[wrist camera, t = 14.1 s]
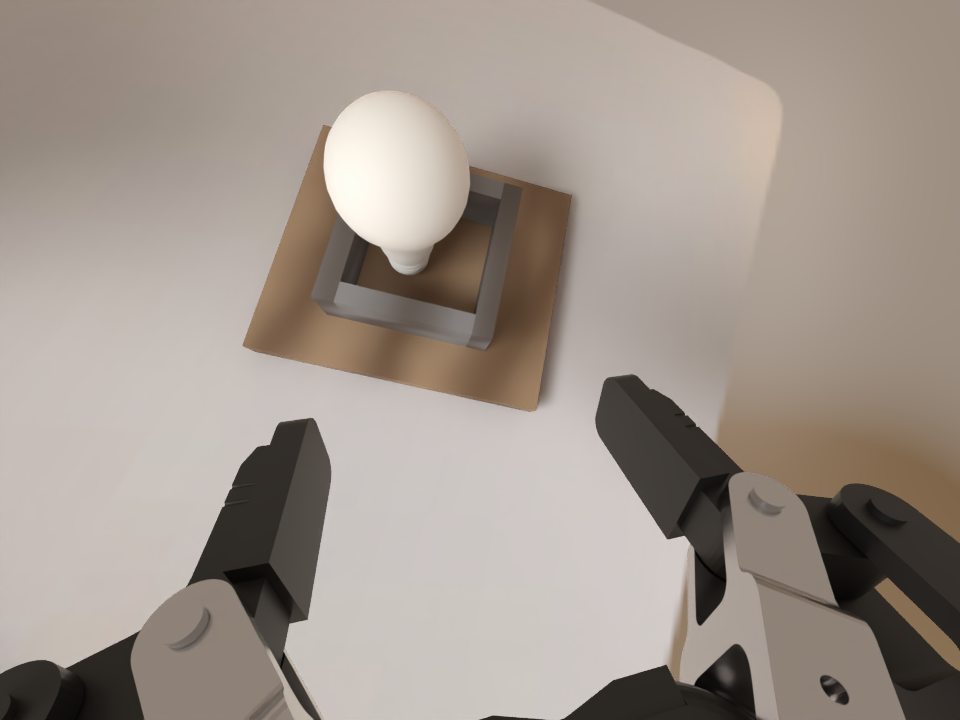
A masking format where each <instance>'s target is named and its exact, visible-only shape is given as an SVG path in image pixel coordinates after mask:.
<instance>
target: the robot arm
mask: <svg viewBox="0 0 960 720" xmlns="http://www.w3.org/2000/svg"><path fill="white" fill-rule="evenodd" d="M595 421H596V428H597V432H598V434H599V436H600V438H601V440H602V441H603V443H604V444H605V446H606V447H607V449H608V450H609V452H610V453H611V455H612V456H613V458H614V459H615V461H616V462H617V464H618V465H619V467H620V468H621V470H622V471H623V473H624V474H625V476H626V477H627V479H628V481H629V482H630V484H631V485H632V487H633V488H634V490H635V491H636V493H637V494H638V496H639V497H640V499H641V500H642V502H643V503H644V505H645V506H646V508H647V509H648V511H649V512H650V514H651V515H652V517H653V518H654V520H655V521H656V523H657V525H658V526H659V528H660V529H661V531H662V532H663V534H664V535H665V537H666V538H667V539H672V538H676V537H681V536H686V538H687V539H688V541H689V542H690V545H689V548H688V553H687V558H688V632H687V638H686V642H685V645H684V648H683V652H682V657H681V664H680V682H679V681H674V679H673V677H672V675H671V673H670V671H669V669H668V667H667V665H664V666H661V667H657V668H654V669H651V670H647V671H644V672H640V673H637V674H634V675H630V676H627V677H623V678H620V679H616V680H613V681H612V682H611V683H609V684H608V685H607V686H605V687H604V688H603V689H602V690H600V691H599V692H598V693H597V694H595V695H594V696H593V697H591V698H590V699H589V700H588V701H586V702H585V703H584V704H583V705H581V706H580V707H579V708H577V709H576V710H575V711H574V712H572V713H571V714H570V715H569V716H567V717H566V718H564V719H561V720H960V671H958V670H957V669H955V668H954V667H952V666H951V665H950V664H948V663H947V662H946V661H945V660H944V659H943V658H942V657H941V656H940V655H939V654H938V653H937V652H936V651H935V650H934V649H933V648H932V647H931V646H930V645H929V644H928V643H927V642H926V641H925V640H924V639H923V637H922V636H921V635H920V634H919V633H918V632H917V631H916V630H915V629H914V628H913V627H912V626H911V625H910V624H909V623H908V622H907V621H906V620H905V619H904V618H903V617H902V616H901V615H900V614H899V613H898V612H897V611H896V610H895V609H894V608H893V607H892V606H891V605H890V604H889V603H888V602H887V601H886V600H885V599H884V598H883V597H882V595H881V594H880V593H879V592H878V591H877V590H876V589H875V588H874V587H875V586H877V585H878V584H879V583H881V582H882V581H883V580H884V579H886V578H887V577H888V578H889V579H890V580H891V581H892V582H893V583H894V584H895V585H896V586H897V587H898V588H899V589H900V590H901V591H902V592H904V594H905V595H906V596H907V597H909V599H910V600H912V601H913V602H914V603H915V604H916V605H917V606H918V607H919V608H920V609H921V610H922V611H923V612H924V613H925V614H926V615H927V616H928V617H929V618H930V619H931V620H932V621H933V622H934V623H935V624H936V625H937V626H938V627H939V628H940V629H941V630H942V631H944V633H945V634H946V635H948V636H949V638H951V640H952V641H953V642H954V643H955V644H956V645H957V647H958V648H959V650H960V543H958V542H957V541H956V540H955V539H953V538H952V537H951V536H949V535H948V534H947V533H945V532H944V531H943V530H942V529H940V528H939V527H938V526H937V525H935V524H934V523H933V522H931V521H930V520H929V519H928V518H926V517H925V516H924V515H923V514H921V513H920V512H919V511H917V510H916V509H915V508H914V507H912V506H911V505H909V504H908V503H906V502H905V501H903V500H902V499H900V498H898V497H896V496H895V495H893V494H891V493H889V492H886V491H884V490H881V489H879V488H876V487H873V486H869V485H864V484H848V485H846V486H844V487H843V488H842V489H841V490H840V491H839V492H838V493H837V494H836V495H835V497H834V498H824V497H815V496H806V495H797V494H794V493H793V492H792V491H791V490H790V489H789V488H787V487H786V486H784V485H783V484H781V483H780V482H778V481H776V480H774V479H772V478H770V477H767V476H764V475H761V474H757V473H752V472H744V471H743V470H742V469H741V468H740V467H739V466H738V465H737V464H736V463H735V462H734V461H733V460H732V459H731V458H730V457H728V455H726V453H725V452H724V451H722V449H721V448H719V446H718V445H717V444H715V443H714V442H713V441H712V440H711V439H710V438H709V437H708V436H707V435H706V434H705V433H704V432H703V431H702V430H701V429H700V428H699V427H696V424H695V423H694V422H693V421H692V420H691V419H690V418H689V417H688V416H685V413H684V412H683V411H682V410H681V409H680V408H679V407H678V406H677V405H676V404H675V403H674V402H673V401H672V400H671V399H670V398H668V397H666V396H664V395H663V394H661V393H659V392H658V391H656V390H654V389H651V390H650V389H649V388H648V387H647V386H646V385H645V384H644V383H643V382H642V381H641V380H640V379H639V378H638V377H637V376H636V375H633V374H631V375H624V376H616V377H609V378H607V379H606V380H605V381H604V384H603V388H602V392H601V396H600V401H599V405H598V409H597V413H596V419H595ZM330 483H331V465H330V460H329V456H328V453H327V451H326V448H325V445H324V443H323V440H322V437H321V434H320V432H319V429H318V426H317V424H316V422H315V420H314V419H313V418H308V419H301V420H294V421H286V422H281V423H279V424H278V425H277V427H276V430H275V433H274V435H273V438H272V441H271V443H270V445H267V446H260V447H257V448H256V449H255V450H254V451H253V452H252V454H251V455H250V456H249V457H248V458H247V459H246V460H245V461H244V462H243V463H242V465H241V466H240V468H239V471H238V473H237V475H236V477H235V480H234V482H233V484H232V489H231V490H230V491H229V493H228V496H227V498H226V500H225V506H224V507H222V509H221V512H220V514H219V516H218V518H217V521H216V523H215V525H214V528H213V530H212V532H211V534H210V537H209V539H208V541H207V544H206V546H205V548H204V550H203V553H202V555H201V557H200V560H199V562H198V564H197V566H196V569H195V571H194V573H193V576H192V578H191V580H190V581H189V583H188V585H187V586H186V588H184V589H182V590H180V591H179V592H177V593H176V594H174V595H173V596H172V597H170V598H169V599H168V600H166V601H165V602H164V603H163V604H162V605H161V606H160V607H159V608H158V609H157V610H156V611H155V612H154V613H153V614H152V615H151V616H150V618H149V619H148V620H147V622H146V623H145V624H144V626H143V627H142V629H141V630H140V631H139V632H137V633H135V634H133V635H131V636H130V637H128V638H126V639H124V640H122V641H120V642H118V643H116V644H114V645H112V646H110V647H108V648H106V649H104V650H102V651H100V652H98V653H96V654H94V655H92V656H90V657H88V658H86V659H84V660H82V661H80V662H78V663H76V664H74V665H72V666H70V667H68V668H66V669H65V668H63V667H61V666H59V665H57V664H55V663H53V662H50V661H46V660H36V661H31V662H27V663H24V664H21V665H18V666H16V667H13V668H11V669H9V670H7V671H5V672H3V673H1V674H0V720H325V719H324V718H323V716H322V714H321V712H320V710H319V709H318V707H317V705H316V703H315V701H314V700H313V698H312V696H311V694H310V692H309V691H308V689H307V687H306V685H305V684H304V682H303V680H302V678H301V676H300V675H299V673H298V671H297V669H296V667H295V666H294V664H293V662H292V660H291V658H290V657H289V655H288V653H287V651H286V650H285V648H284V647H285V642H286V637H287V632H288V627H289V624H290V623H294V622H299V621H303V620H308V614H309V608H310V602H311V596H312V590H313V584H314V578H315V572H316V566H317V560H318V554H319V548H320V542H321V536H322V531H323V525H324V519H325V513H326V507H327V501H328V495H329V489H330ZM480 720H543V719H530V718H517V717H504V716H490V717H487V718H483V719H480Z"/></svg>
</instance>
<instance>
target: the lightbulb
mask: <svg viewBox="0 0 960 720" xmlns="http://www.w3.org/2000/svg"><path fill="white" fill-rule="evenodd" d="M324 176H325V181H326V186H327V190H328V193H329V195H330V197H331V200H332V202H333V204H334V206H335V209H336V210H337V212H338V213H339V215H340V216H341V217H342V219H343V220H344V221H345V222H346V223H347V225H348V226H349V227H350V228H351V229H352V230H353V231H355V232H356V233H357V234H358V235H359V236H360V237H362V238H363V239H365V240H367V241H368V242H370V243H372V244H374V245H377V246H379V247H381V249H382V251H383V252H384V253H385V255H386V256H387V257H388V259H389V262H390V264H391V265H392V267H393V268H394V269H395V270H396V271H398V272H399V273H401V274H405V275H415V274H418V273H420V272H421V271H423V270H424V269H425V267H426V266H427V264H428V260H429V256H430V253H431V251H432V249H433V247H434V244H435V243H436V242H438V241H440V240H441V239H443V238H444V237H445V236H446V235H448V234H449V233H450V232H451V231H452V229H453V228H454V227H455V225H456V224H457V223H458V221H459V219H460V218H461V216H462V214H463V212H464V209H465V207H466V204H467V200H468V194H469V188H470V172H469V163H468V159H467V156H466V152H465V149H464V146H463V143H462V141H461V139H460V137H459V135H458V133H457V132H456V130H455V129H454V128H453V126H452V125H451V124H450V122H449V121H448V120H447V119H446V117H445V116H444V115H443V114H442V113H441V112H440V111H439V110H437V109H436V108H435V107H434V106H432V105H431V104H429V103H428V102H426V101H425V100H423V99H421V98H419V97H417V96H415V95H412V94H409V93H405V92H401V91H391V90H388V91H377V92H373V93H369V94H367V95H365V96H362V97H360V98H358V99H357V100H356V101H354V102H353V103H351V104H350V105H349V106H348V107H346V108H345V109H344V110H343V112H342V113H341V114H340V115H339V116H338V118H337V119H336V121H335V123H334V125H333V126H332V128H331V130H330V132H329V133H328V137H327V140H326V144H325V151H324Z"/></svg>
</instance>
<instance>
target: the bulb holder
mask: <svg viewBox="0 0 960 720" xmlns="http://www.w3.org/2000/svg"><path fill="white" fill-rule="evenodd" d="M331 128H332V127H329V126H326V125H323V127H322V130H321V133H320V135H319V138H318V141H317V144H316V146H315V149H314V152H313V154H312V157H311V160H310V163H309V165H308V168H307V171H306V173H305V176H304V179H303V182H302V184H301V187H300V190H299V193H298V195H297V198H296V201H295V203H294V206H293V209H292V212H291V214H290V217H289V220H288V223H287V225H286V228H285V231H284V233H283V236H282V239H281V242H280V244H279V247H278V250H277V253H276V255H275V258H274V261H273V263H272V266H271V269H270V272H269V274H268V277H267V280H266V282H265V285H264V288H263V291H262V293H261V296H260V299H259V302H258V304H257V307H256V310H255V312H254V315H253V318H252V321H251V323H250V326H249V329H248V332H247V334H246V337H245V340H244V342H243V345H242V346H244V347H246V348H248V349H250V350H253V351H255V352H259V353H264V354H269V355H273V356H278V357H282V358H287V359H291V360H296V361H301V362H305V363H310V364H314V365H319V366H323V367H328V368H332V369H337V370H342V371H346V372H351V373H355V374H360V375H364V376H369V377H374V378H378V379H383V380H387V381H392V382H396V383H401V384H406V385H410V386H415V387H419V388H424V389H428V390H433V391H437V392H442V393H447V394H451V395H456V396H460V397H465V398H469V399H474V400H479V401H483V402H488V403H492V404H497V405H501V406H506V407H510V408H515V409H520V410H524V411H529V412H531V411H536V408H537V402H538V396H539V390H540V384H541V378H542V372H543V366H544V360H545V354H546V348H547V342H548V336H549V330H550V324H551V318H552V312H553V306H554V300H555V294H556V288H557V281H558V275H559V269H560V263H561V257H562V251H563V245H564V239H565V233H566V227H567V221H568V215H569V209H570V203H571V197H572V195H569V194H565V193H562V192H558V191H555V190H551V189H548V188H544V187H541V186H537V185H534V184H530V183H527V182H523V181H520V180H516V179H513V178H509V177H506V176H502V175H498V174H495V173H491V172H488V171H484V170H481V169H477V168H474V167H470V166H469V172H470V188H469V194H468V200H467V204H466V207H465V209H464V212H463V214H462V216H461V218H460V219H459V221H458V223H457V224H456V225H455V227H454V228H453V229H452V231H451V232H450V233H449V234H448V235H446V236H445V237H444V238H443V239H441V240H440V241H438V242H436V243H435V244H434V247H433V249H432V251H431V253H430V256H429V260H428V264H427V266H426V267H425V269H424V270H423V271H421V272H420V273H418V274H415V275H405V274H401V273H399V272H398V271H396V270H395V269H394V268H393V267H392V265H391V264H390V262H389V259H388V257H387V256H386V255H385V253H384V252H383V251H382V249H381V247H379V246H377V245H374V244H372V243H370V242H368V241H367V240H365V239H363V238H362V237H360V236H359V235H358V234H357V233H356V232H355V231H353V230H352V229H351V228H350V227H349V226H348V225H347V223H346V222H345V221H344V220H343V219H342V217H341V216H340V215H339V213H338V212H337V210H336V209H335V206H334V204H333V202H332V200H331V197H330V195H329V193H328V190H327V186H326V181H325V176H324V151H325V144H326V140H327V137H328V133H329V132H330V130H331Z"/></svg>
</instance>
